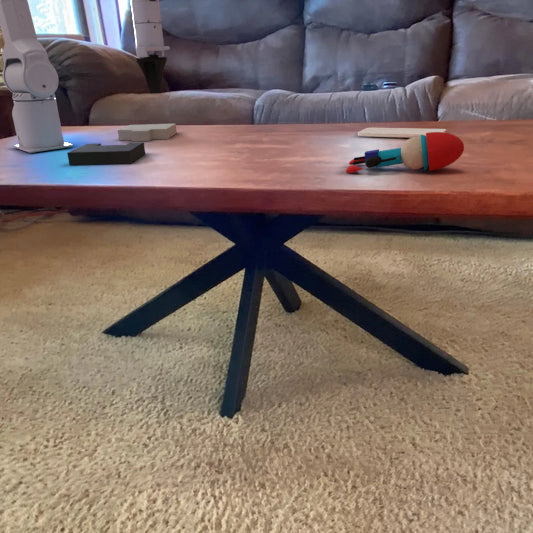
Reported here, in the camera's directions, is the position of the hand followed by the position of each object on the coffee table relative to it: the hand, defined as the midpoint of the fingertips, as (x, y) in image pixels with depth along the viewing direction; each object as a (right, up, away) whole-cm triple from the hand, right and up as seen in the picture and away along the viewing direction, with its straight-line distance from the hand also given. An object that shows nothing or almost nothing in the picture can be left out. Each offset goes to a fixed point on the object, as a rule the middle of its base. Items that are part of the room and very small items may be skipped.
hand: (155, 92), depth 111 cm
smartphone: (+49, -13, -16) cm, 54 cm away
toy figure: (+43, -25, -42) cm, 65 cm away
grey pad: (0, -11, -5) cm, 12 cm away
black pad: (-2, -20, -27) cm, 34 cm away
